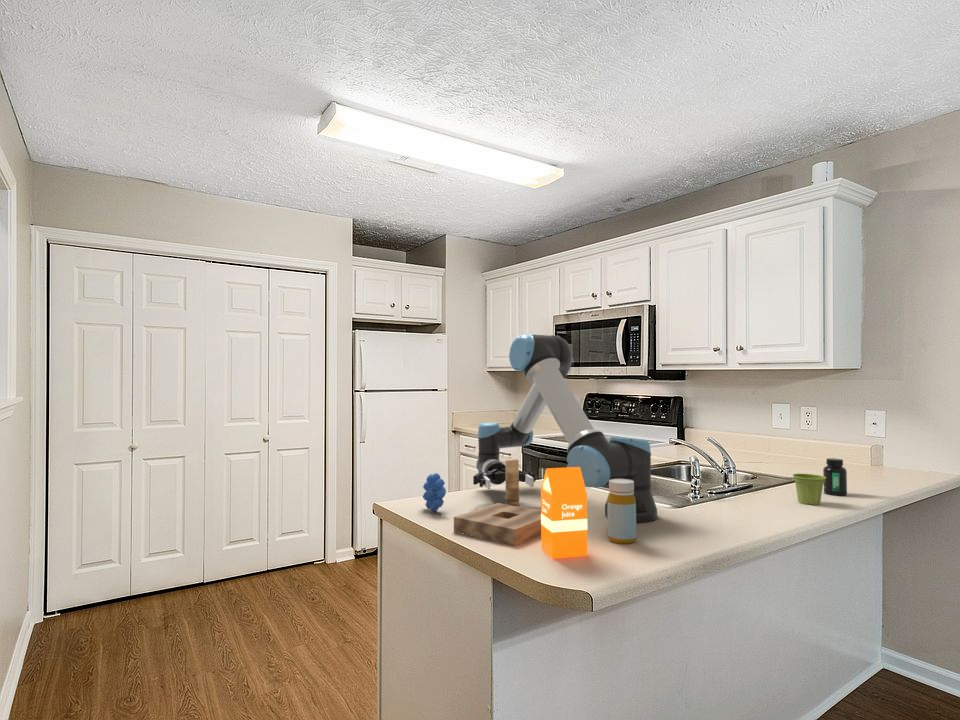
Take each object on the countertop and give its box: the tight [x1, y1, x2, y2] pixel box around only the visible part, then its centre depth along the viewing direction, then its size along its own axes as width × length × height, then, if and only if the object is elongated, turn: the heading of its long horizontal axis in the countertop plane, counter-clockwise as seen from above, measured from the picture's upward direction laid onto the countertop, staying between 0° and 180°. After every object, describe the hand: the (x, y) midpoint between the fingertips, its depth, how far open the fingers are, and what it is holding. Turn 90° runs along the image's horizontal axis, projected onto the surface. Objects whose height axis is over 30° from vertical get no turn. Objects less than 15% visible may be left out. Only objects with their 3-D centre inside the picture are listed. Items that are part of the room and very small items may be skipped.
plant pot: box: [791, 473, 826, 506], centre depth 183 cm, size 9×9×9 cm
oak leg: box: [504, 458, 520, 507], centre depth 172 cm, size 4×4×16 cm
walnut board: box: [453, 502, 541, 547], centre depth 154 cm, size 20×20×4 cm
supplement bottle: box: [822, 458, 848, 497], centre depth 195 cm, size 7×7×12 cm
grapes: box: [422, 472, 447, 513], centre depth 175 cm, size 12×7×12 cm, turn 34°
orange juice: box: [540, 466, 588, 560], centre depth 135 cm, size 8×9×20 cm
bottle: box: [606, 479, 637, 545], centre depth 144 cm, size 7×7×15 cm
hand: (511, 483), depth 172 cm, fingers open, 13 cm apart
